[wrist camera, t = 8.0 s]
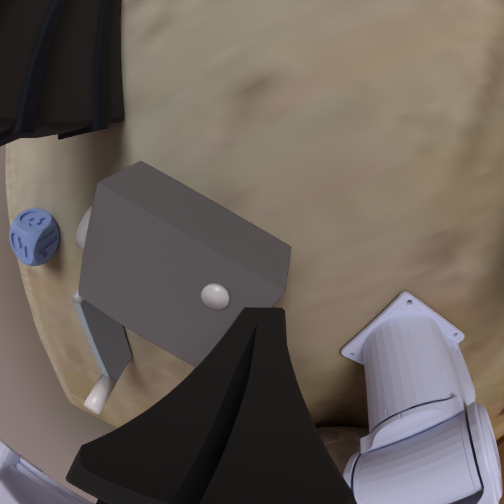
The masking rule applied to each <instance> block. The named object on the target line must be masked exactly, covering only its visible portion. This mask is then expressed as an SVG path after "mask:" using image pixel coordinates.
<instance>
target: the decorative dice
mask: <svg viewBox="0 0 504 504" xmlns="http://www.w3.org/2000/svg"><path fill="white" fill-rule="evenodd" d="M9 239H10V244H11V247H12V249H13V251H14V253H15V255H16V256H17V258H18V259H19V260H20V261H21V262H22V263H24V264H26V265H30V266H38V265H42V264H44V263H46V262H47V261H48V260H50V258H51V257H52V256H53V255H54V253H55V251H56V249H57V246H58V243H59V229H58V226H57V223H56V221H55V220H54V218H53V217H52V215H51V214H50V213H48V212H47V211H45V210H43V209H37V208H34V209H28V210H25V211H23V212H21V213H20V214H19V215H18V216H17V217H16V218H15V220H14V221H13V223H12V225H11V228H10V233H9Z"/></svg>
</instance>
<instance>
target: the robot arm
mask: <svg viewBox="0 0 504 504" xmlns="http://www.w3.org/2000/svg"><path fill="white" fill-rule="evenodd" d="M408 300H411V301H410V302H407V301H408ZM464 337H465V336H464V333H463V332H462V331H460V330H459V329H458V328H456V327H455V326H454V325H452V324H451V323H450V322H448V321H447V320H446V319H444V318H443V317H442V316H440V315H439V314H438V313H436V312H435V311H433V310H432V309H431V308H429V307H428V306H427V305H425V304H424V303H422V302H421V301H420V300H418V299H417V298H415V297H414V296H413V295H411V294H410V293H408V292H403V293H401V294H400V295H399V296H398V297H397V298H396V299H395V300H394V301H393V302H392V303H391V304H390V305H389V306H388V307H387V308H386V309H385V310H384V311H383V312H382V313H381V314H380V315H379V316H377V317H376V318H375V319H374V320H373V321H372V322H371V323H370V324H369V325H368V326H367V327H366V328H365V329H363V330H362V331H361V332H360V333H359V334H358V335H357V336H356V337H355V338H353V339H352V340H351V341H350V342H349V343H348V344H347V345H345V346H344V347H343V348H342V350H341V354H342V355H343V356H345V357H347V358H349V359H351V360H353V361H356V362H358V363H360V364H362V365H364V369H365V379H366V390H367V403H368V418H369V435H367V436H365V437H362V438H361V439H360V451H359V452H356V453H355V454H353V455H352V456H351V458H350V459H349V461H348V462H347V464H346V467H345V470H344V472H343V475H341V473H340V471H339V470H338V468H337V466H336V465H335V463H334V461H333V460H332V458H331V456H330V454H329V453H328V451H327V449H326V447H325V445H324V443H323V441H322V439H321V437H320V435H319V433H318V431H317V429H316V427H315V425H314V423H313V421H312V418H311V416H310V414H309V412H308V409H307V407H306V404H305V402H304V399H303V397H302V394H301V391H300V389H299V386H298V383H297V380H296V377H295V374H294V370H293V367H292V363H291V360H290V356H289V351H288V347H287V338H286V321H285V310H284V309H282V308H260V307H245V308H244V309H242V311H241V312H240V314H239V315H238V317H237V318H236V319H235V321H234V322H233V324H232V325H231V326H230V328H229V329H228V330H227V332H226V333H225V334H224V336H223V337H222V338H221V339H220V341H219V342H218V343H217V344H216V346H215V347H214V348H213V349H212V350H211V352H210V353H209V354H208V355H207V356H206V357H205V358H204V360H203V361H202V362H201V363H200V364H199V365H198V366H197V367H196V368H195V369H194V370H193V371H192V372H191V373H190V374H189V375H188V376H187V377H186V378H185V379H184V380H183V381H182V382H181V383H180V384H179V385H178V386H177V387H175V388H174V389H173V390H172V391H171V392H170V393H169V394H167V395H166V396H165V397H163V398H162V399H161V400H160V401H158V402H157V403H156V404H155V405H153V406H152V407H151V408H149V409H148V410H146V411H145V412H143V413H142V414H140V415H139V416H137V417H136V418H134V419H132V420H131V421H129V422H128V423H126V424H124V425H123V426H121V427H119V428H118V429H116V430H114V431H112V432H110V433H108V434H106V435H104V436H102V437H100V438H97V439H96V440H93V441H91V442H89V443H86V444H84V445H82V446H81V448H80V450H79V451H78V453H77V455H76V457H75V459H74V461H73V463H72V465H71V468H70V470H69V472H68V474H67V476H66V480H67V481H68V482H69V483H70V484H72V485H74V486H76V487H78V488H79V489H81V490H83V491H84V492H86V493H88V494H90V495H92V496H94V497H96V498H98V501H97V503H96V504H499V499H500V498H501V496H502V479H501V465H500V459H499V453H498V449H497V444H496V440H495V436H494V432H493V429H492V425H491V422H490V419H489V416H488V413H487V411H486V408H485V406H484V405H481V404H477V402H475V390H474V386H473V383H472V380H471V377H470V375H469V372H468V369H467V366H466V364H465V361H464V358H463V356H462V353H461V351H460V348H459V346H458V344H459V343H460V342H461V341H462V340H463V339H464ZM350 353H352V354H350ZM0 504H95V503H93V502H91V501H89V500H87V499H85V498H83V497H82V496H80V495H78V494H76V493H74V492H73V491H71V490H70V489H68V488H66V487H65V486H63V485H61V484H60V483H58V482H57V481H55V480H54V479H52V478H51V477H49V476H47V475H46V474H45V473H43V471H42V470H40V469H39V468H37V467H36V466H34V465H33V464H32V463H31V462H29V461H28V460H27V459H25V458H24V457H22V456H21V455H20V454H18V453H17V452H15V451H14V450H13V449H12V448H10V447H9V446H8V445H7V444H6V443H5V442H3V441H2V440H1V439H0Z"/></svg>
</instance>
